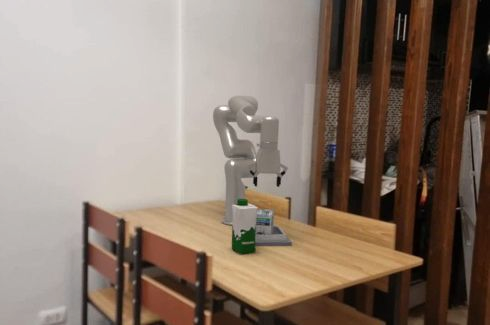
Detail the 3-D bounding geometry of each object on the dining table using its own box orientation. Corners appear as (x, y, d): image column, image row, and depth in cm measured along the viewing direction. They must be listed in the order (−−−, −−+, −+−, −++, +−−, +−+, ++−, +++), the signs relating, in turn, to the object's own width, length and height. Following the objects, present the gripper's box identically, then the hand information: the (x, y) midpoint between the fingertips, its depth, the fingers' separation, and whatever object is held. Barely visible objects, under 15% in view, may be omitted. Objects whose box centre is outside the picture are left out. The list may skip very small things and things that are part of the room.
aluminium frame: (245, 231, 193) (245, 225, 193) (278, 231, 196) (279, 225, 195) (250, 241, 178) (250, 235, 178) (286, 241, 180) (287, 235, 180)
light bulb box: (271, 239, 181) (272, 214, 180) (255, 238, 182) (256, 213, 181) (273, 233, 192) (274, 209, 191) (258, 232, 193) (259, 208, 192)
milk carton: (247, 246, 177) (249, 197, 174) (258, 252, 169) (260, 202, 166) (228, 248, 173) (230, 199, 170) (238, 255, 165) (240, 203, 162)
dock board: (240, 233, 195) (240, 230, 195) (281, 233, 198) (281, 229, 198) (246, 246, 176) (246, 242, 176) (291, 245, 179) (292, 242, 179)
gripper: (249, 146, 178) (248, 187, 180) (290, 147, 180) (288, 188, 182) (247, 144, 185) (245, 184, 187) (286, 146, 188) (284, 185, 190)
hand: (266, 186), depth 185 cm, fingers open, 9 cm apart
